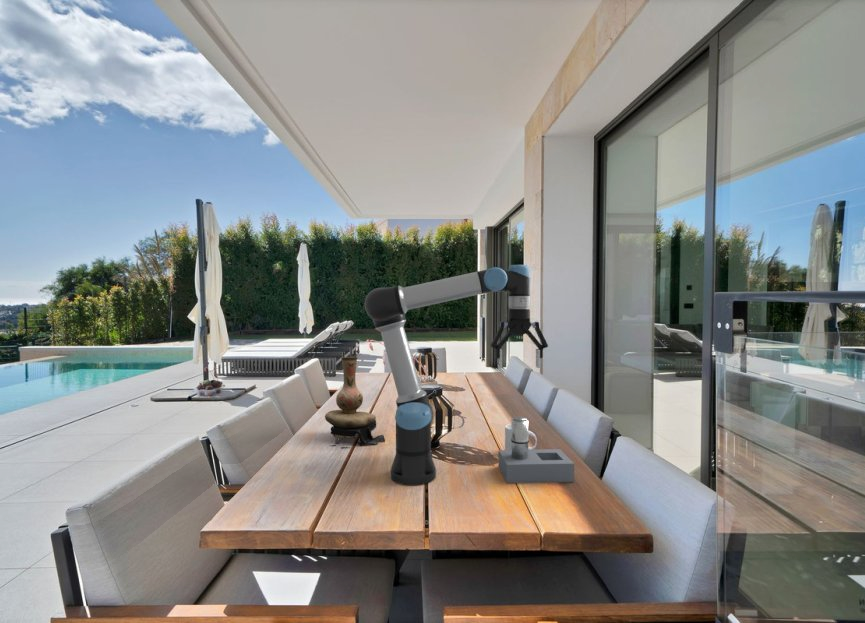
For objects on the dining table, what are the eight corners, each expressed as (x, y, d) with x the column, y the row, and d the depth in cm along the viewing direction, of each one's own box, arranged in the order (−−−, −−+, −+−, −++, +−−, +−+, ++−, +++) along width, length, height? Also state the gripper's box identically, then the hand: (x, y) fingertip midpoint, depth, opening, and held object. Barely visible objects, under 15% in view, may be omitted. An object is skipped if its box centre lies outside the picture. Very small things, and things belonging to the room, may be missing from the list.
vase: (375, 429, 203) (375, 353, 202) (387, 444, 182) (386, 359, 181) (323, 434, 195) (322, 355, 194) (328, 450, 174) (328, 361, 173)
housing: (506, 483, 142) (506, 464, 142) (498, 467, 156) (498, 450, 156) (574, 481, 143) (574, 463, 143) (559, 466, 157) (559, 449, 157)
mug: (538, 459, 164) (538, 430, 163) (505, 458, 165) (505, 429, 165) (535, 451, 172) (535, 424, 172) (504, 450, 173) (504, 423, 173)
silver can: (513, 460, 146) (513, 420, 146) (509, 453, 152) (509, 416, 152) (530, 459, 146) (531, 420, 146) (526, 453, 152) (526, 415, 152)
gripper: (486, 308, 154) (486, 369, 154) (557, 308, 155) (556, 368, 156) (483, 308, 161) (482, 366, 162) (550, 308, 163) (550, 365, 163)
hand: (519, 367), depth 159 cm, fingers open, 13 cm apart
